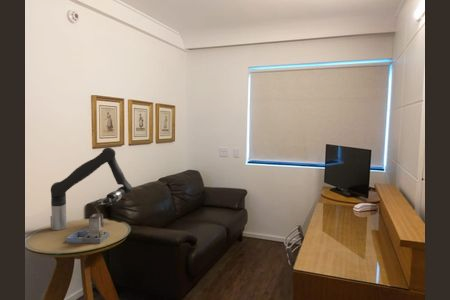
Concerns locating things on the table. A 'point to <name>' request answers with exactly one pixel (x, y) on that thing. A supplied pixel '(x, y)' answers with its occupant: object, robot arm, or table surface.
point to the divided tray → (86, 237)
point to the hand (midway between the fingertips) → (101, 205)
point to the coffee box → (96, 226)
